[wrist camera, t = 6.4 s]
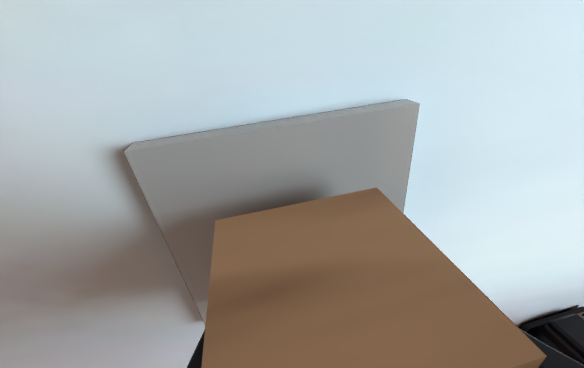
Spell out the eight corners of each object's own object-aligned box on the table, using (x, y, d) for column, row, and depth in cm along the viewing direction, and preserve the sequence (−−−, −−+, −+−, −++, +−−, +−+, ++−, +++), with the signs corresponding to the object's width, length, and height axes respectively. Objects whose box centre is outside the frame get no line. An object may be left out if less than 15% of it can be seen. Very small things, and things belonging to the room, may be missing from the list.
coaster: (384, 275, 15) (392, 286, 14) (210, 319, 13) (209, 334, 13) (406, 99, 10) (419, 103, 9) (132, 142, 8) (123, 151, 8)
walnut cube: (368, 290, 11) (463, 462, 7) (247, 321, 11) (260, 537, 6) (376, 187, 9) (546, 356, 4) (215, 220, 8) (191, 472, 3)
